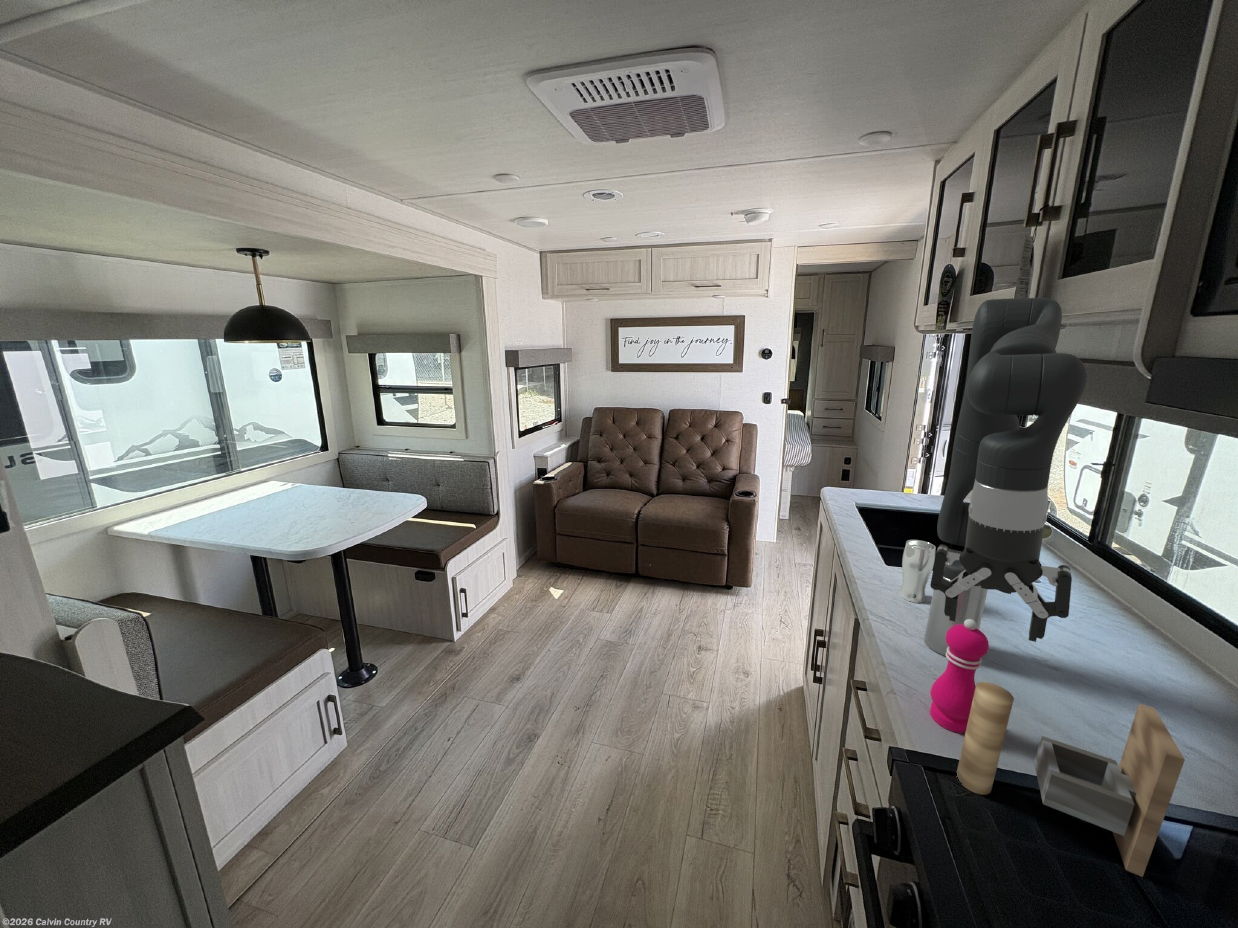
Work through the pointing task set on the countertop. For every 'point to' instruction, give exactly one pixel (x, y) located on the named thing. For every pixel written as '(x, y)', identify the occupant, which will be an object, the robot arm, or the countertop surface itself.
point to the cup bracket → (1116, 785)
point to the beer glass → (916, 569)
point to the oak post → (984, 737)
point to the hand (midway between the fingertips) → (990, 627)
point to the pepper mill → (958, 676)
